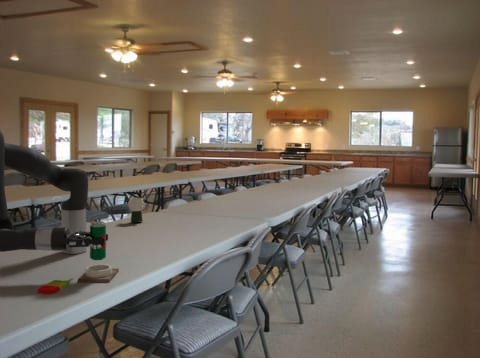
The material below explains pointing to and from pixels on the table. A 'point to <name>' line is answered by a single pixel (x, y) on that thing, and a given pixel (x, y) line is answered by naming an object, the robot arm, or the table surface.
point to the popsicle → (54, 286)
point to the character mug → (136, 209)
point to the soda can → (98, 231)
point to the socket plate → (98, 273)
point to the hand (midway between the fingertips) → (106, 239)
